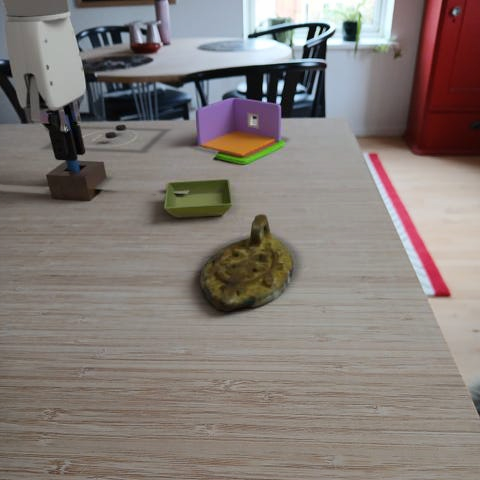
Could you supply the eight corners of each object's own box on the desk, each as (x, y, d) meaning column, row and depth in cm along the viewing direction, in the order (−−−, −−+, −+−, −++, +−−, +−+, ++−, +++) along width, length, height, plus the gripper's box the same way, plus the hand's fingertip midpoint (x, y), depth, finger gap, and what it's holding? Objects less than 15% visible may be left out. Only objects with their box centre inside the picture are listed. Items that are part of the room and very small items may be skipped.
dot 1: (104, 138, 89) (103, 135, 88) (108, 135, 90) (107, 131, 90) (113, 138, 88) (113, 135, 88) (117, 135, 90) (117, 132, 89)
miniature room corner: (233, 133, 94) (232, 94, 90) (287, 144, 88) (288, 102, 84) (189, 152, 87) (185, 110, 83) (244, 165, 81) (243, 120, 77)
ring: (47, 153, 89) (45, 147, 89) (78, 132, 99) (77, 126, 98) (143, 157, 86) (142, 150, 85) (167, 135, 95) (166, 129, 95)
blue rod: (70, 188, 74) (53, 117, 68) (75, 184, 76) (59, 113, 70) (80, 189, 74) (64, 117, 68) (85, 185, 75) (69, 114, 69)
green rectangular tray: (230, 192, 73) (229, 178, 71) (233, 219, 66) (233, 203, 64) (168, 196, 72) (166, 182, 71) (165, 223, 65) (163, 208, 64)
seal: (276, 330, 48) (300, 251, 60) (282, 289, 45) (306, 215, 57) (182, 310, 50) (223, 237, 61) (182, 269, 47) (225, 201, 58)
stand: (51, 198, 73) (45, 174, 71) (71, 182, 78) (66, 160, 76) (90, 201, 72) (85, 176, 70) (108, 184, 77) (103, 161, 75)
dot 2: (114, 130, 92) (113, 127, 92) (118, 127, 93) (117, 124, 93) (123, 131, 92) (123, 127, 91) (127, 128, 93) (127, 124, 93)
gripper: (41, -3, 68) (72, 138, 79) (-34, 12, 56) (16, 176, 67) (93, -4, 66) (118, 140, 77) (28, 12, 54) (68, 179, 65)
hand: (70, 156), depth 72 cm, fingers closed on blue rod, 1 cm apart
